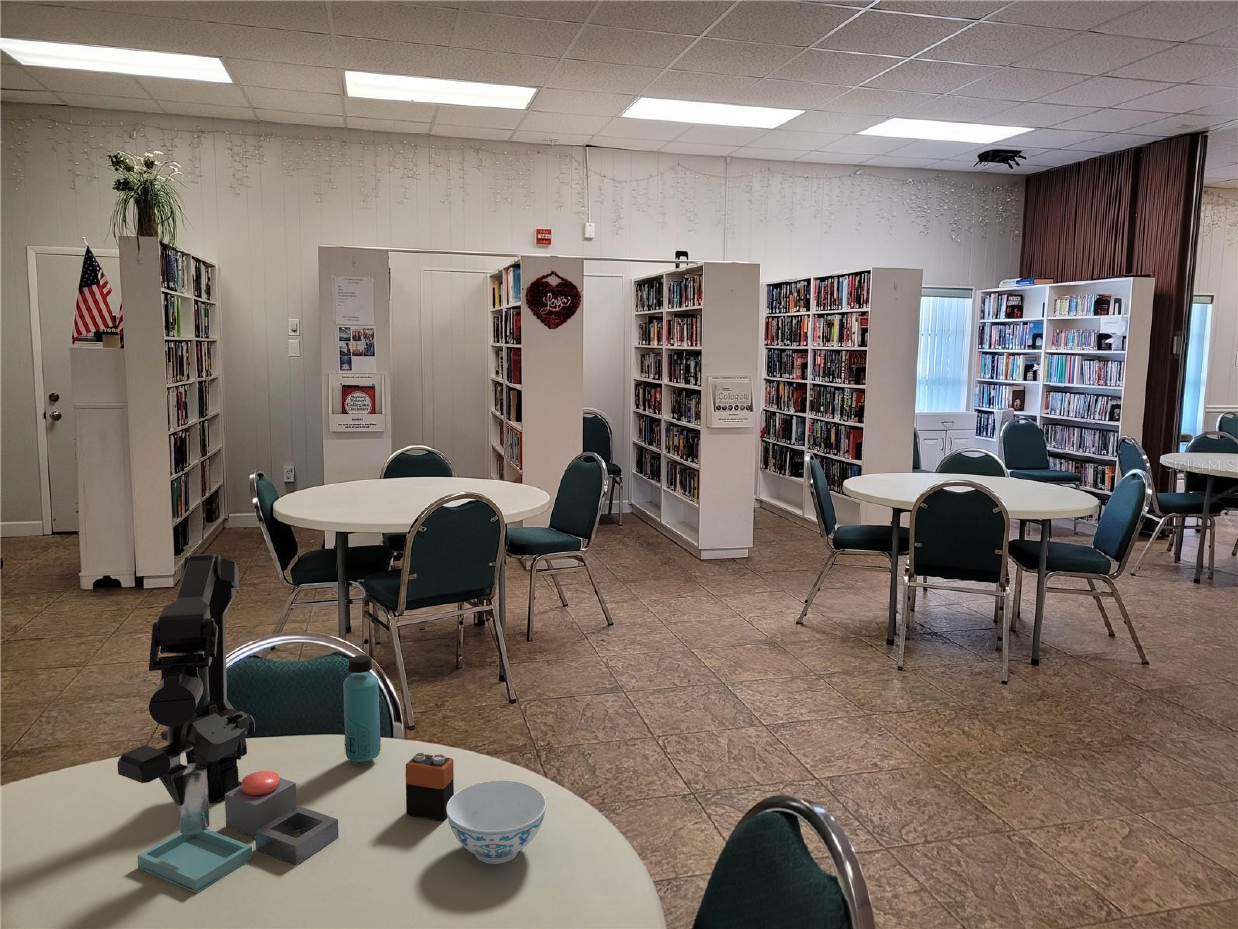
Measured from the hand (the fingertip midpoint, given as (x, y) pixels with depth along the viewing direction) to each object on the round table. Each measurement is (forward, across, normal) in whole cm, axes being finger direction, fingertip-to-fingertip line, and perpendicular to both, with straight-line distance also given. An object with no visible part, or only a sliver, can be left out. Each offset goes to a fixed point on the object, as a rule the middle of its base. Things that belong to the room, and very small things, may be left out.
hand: (192, 798), depth 131 cm
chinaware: (+10, +24, -37) cm, 45 cm away
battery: (+10, +28, -21) cm, 37 cm away
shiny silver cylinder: (+4, 0, 0) cm, 4 cm away
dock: (+10, +13, +1) cm, 17 cm away
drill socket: (+10, +11, -9) cm, 17 cm away
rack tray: (+10, 0, 0) cm, 10 cm away
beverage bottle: (+10, +36, +1) cm, 37 cm away
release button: (+7, +13, +1) cm, 15 cm away
